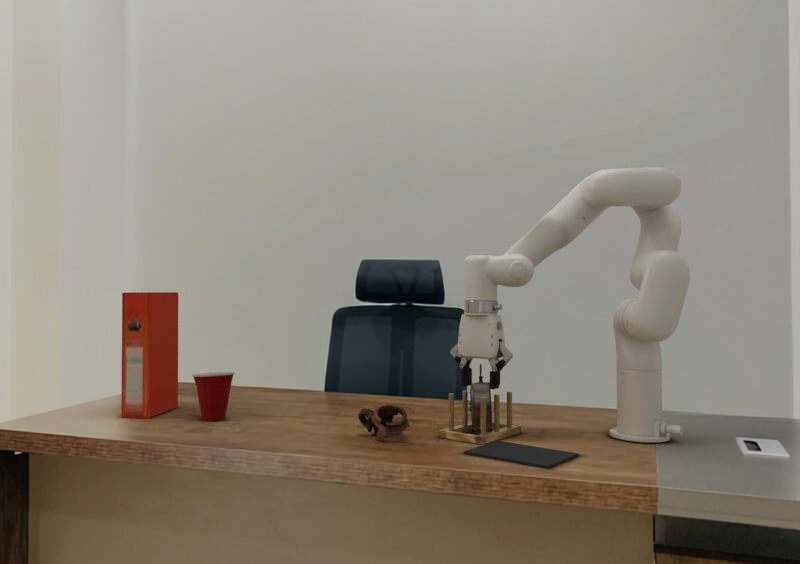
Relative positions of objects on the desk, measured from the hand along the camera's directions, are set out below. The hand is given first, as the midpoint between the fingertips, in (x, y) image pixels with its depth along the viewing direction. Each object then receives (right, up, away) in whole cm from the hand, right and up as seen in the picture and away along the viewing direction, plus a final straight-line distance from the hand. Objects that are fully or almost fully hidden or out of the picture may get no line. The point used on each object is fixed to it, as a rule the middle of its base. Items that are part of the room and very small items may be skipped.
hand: (480, 386), depth 163 cm
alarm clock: (0, -11, 0) cm, 11 cm away
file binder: (-83, -12, +27) cm, 88 cm away
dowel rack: (0, -11, 0) cm, 11 cm away
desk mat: (+4, -10, -20) cm, 23 cm away
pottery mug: (-23, -11, -3) cm, 25 cm away
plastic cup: (-64, -11, +17) cm, 68 cm away
